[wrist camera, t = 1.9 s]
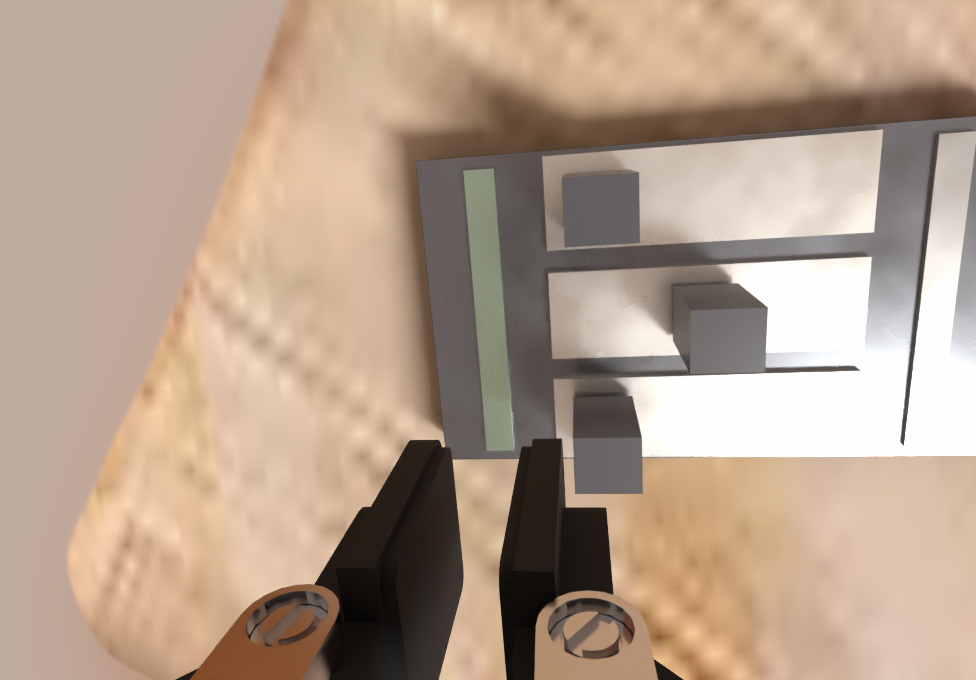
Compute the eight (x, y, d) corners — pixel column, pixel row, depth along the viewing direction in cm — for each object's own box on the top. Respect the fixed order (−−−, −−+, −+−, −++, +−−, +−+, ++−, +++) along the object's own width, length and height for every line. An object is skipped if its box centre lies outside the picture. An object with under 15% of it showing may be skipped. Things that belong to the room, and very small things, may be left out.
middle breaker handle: (736, 338, 25) (765, 372, 21) (672, 340, 25) (690, 374, 21) (737, 283, 24) (768, 307, 20) (673, 286, 25) (690, 310, 21)
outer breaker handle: (629, 228, 24) (639, 243, 20) (566, 232, 24) (564, 247, 21) (629, 169, 24) (639, 172, 20) (564, 174, 24) (561, 178, 20)
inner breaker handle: (633, 445, 27) (642, 493, 23) (575, 445, 27) (575, 493, 23) (632, 395, 26) (641, 437, 22) (573, 397, 26) (572, 438, 23)
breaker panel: (956, 433, 27) (989, 458, 25) (454, 440, 31) (445, 462, 28) (999, 114, 24) (1042, 110, 22) (427, 160, 27) (413, 161, 25)
